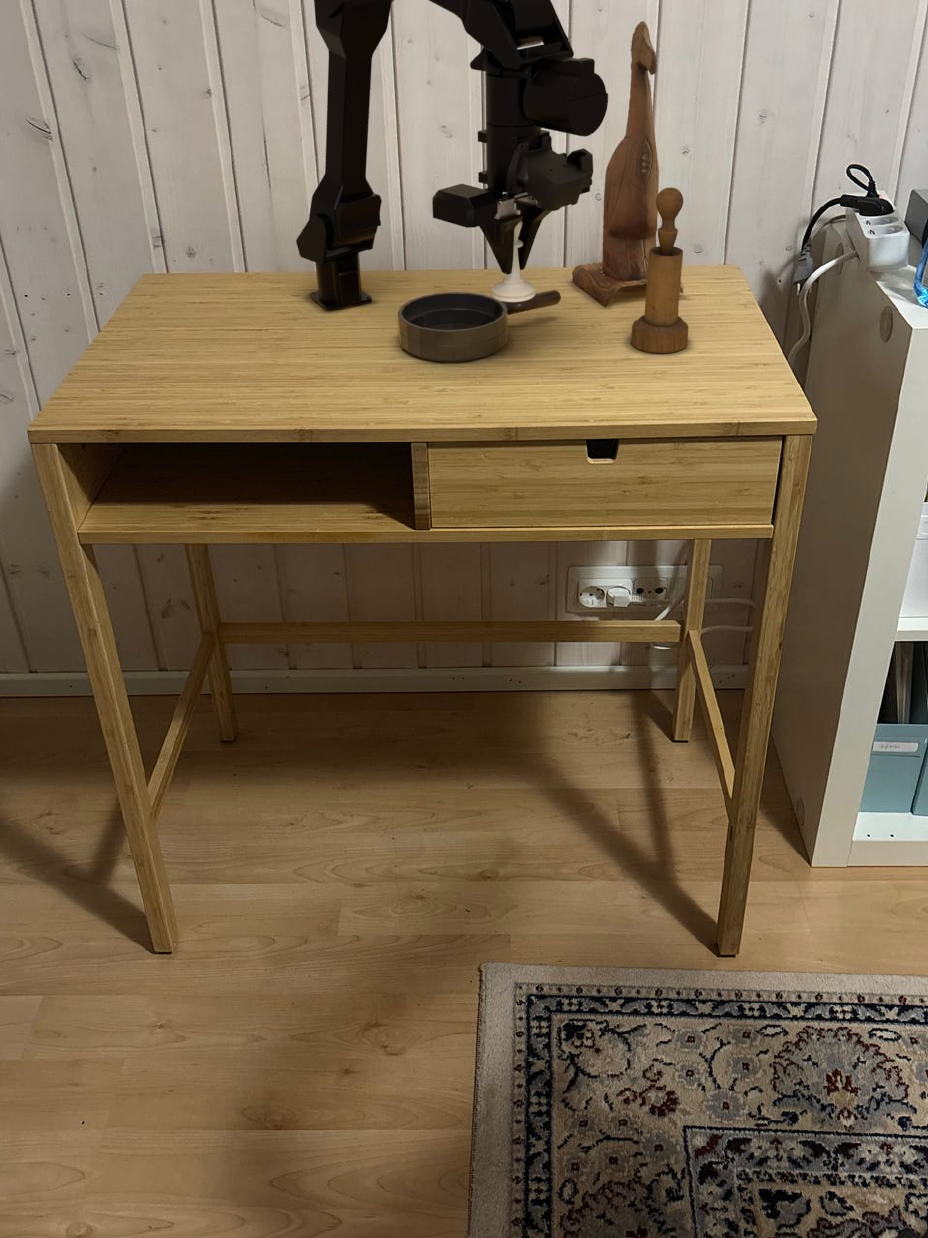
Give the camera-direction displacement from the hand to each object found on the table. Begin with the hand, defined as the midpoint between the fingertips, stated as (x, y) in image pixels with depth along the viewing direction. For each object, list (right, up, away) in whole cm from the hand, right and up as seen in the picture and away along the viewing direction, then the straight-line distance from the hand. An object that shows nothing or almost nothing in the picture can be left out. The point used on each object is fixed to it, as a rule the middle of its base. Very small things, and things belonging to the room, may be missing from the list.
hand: (513, 271), depth 130 cm
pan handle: (+3, 0, +16) cm, 16 cm away
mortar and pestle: (+18, -6, +11) cm, 22 cm away
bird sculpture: (+16, +5, +27) cm, 32 cm away
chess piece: (0, -2, +2) cm, 3 cm away
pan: (-7, -5, +13) cm, 15 cm away
